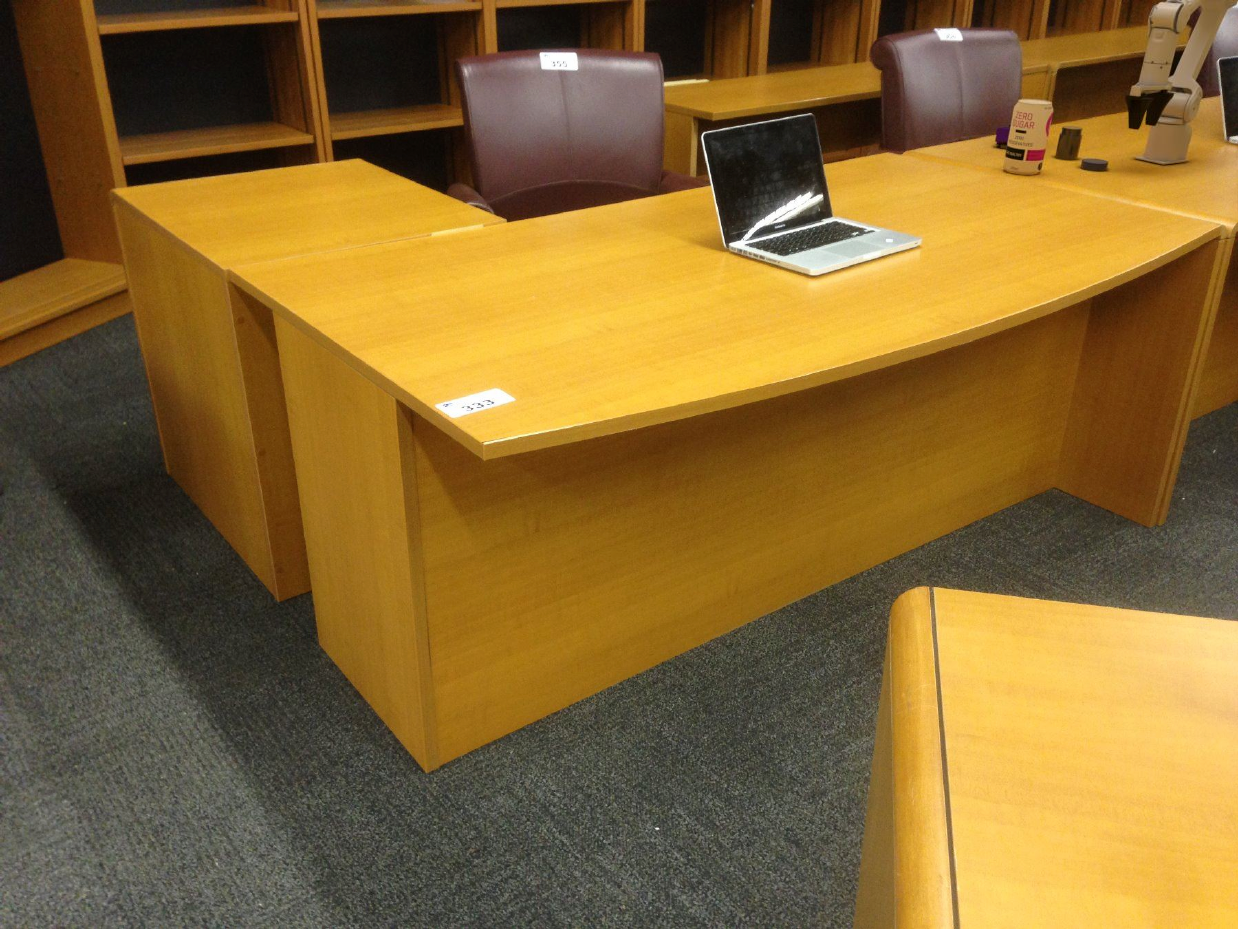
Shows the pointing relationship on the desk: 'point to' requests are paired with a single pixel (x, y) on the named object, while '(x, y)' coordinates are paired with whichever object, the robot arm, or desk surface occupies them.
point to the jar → (1069, 143)
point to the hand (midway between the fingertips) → (1142, 127)
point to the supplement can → (1028, 136)
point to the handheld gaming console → (1002, 136)
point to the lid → (1094, 164)
